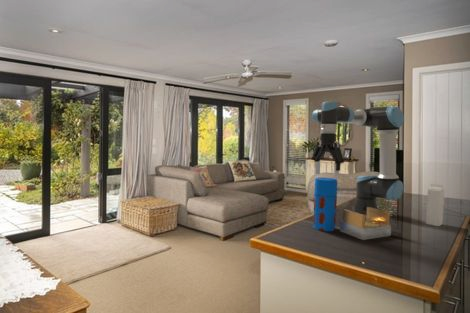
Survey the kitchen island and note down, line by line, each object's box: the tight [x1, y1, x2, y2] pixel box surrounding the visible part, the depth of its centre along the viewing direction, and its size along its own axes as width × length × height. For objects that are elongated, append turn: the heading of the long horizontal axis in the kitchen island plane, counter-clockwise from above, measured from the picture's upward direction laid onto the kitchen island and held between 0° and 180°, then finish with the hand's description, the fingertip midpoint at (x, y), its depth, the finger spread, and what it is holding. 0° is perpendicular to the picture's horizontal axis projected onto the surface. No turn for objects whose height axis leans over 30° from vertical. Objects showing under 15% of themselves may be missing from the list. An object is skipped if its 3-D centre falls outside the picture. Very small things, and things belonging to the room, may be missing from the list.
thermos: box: [312, 177, 338, 232], centre depth 157 cm, size 11×11×25 cm
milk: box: [425, 183, 445, 227], centre depth 171 cm, size 6×6×22 cm
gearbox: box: [339, 207, 392, 241], centre depth 150 cm, size 14×18×11 cm
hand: (326, 175), depth 156 cm, fingers open, 13 cm apart
